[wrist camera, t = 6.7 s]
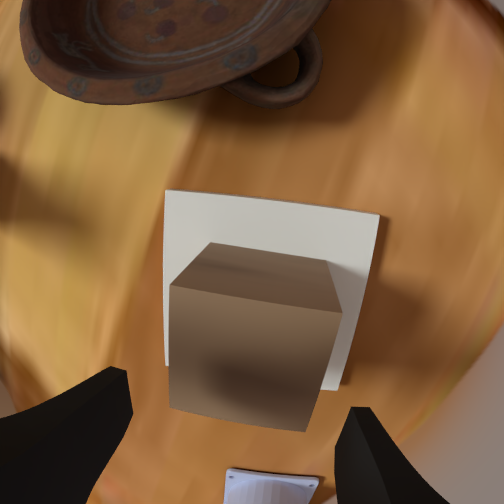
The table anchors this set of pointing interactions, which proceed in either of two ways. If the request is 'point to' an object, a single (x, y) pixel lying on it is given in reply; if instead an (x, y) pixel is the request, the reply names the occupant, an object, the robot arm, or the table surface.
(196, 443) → the table surface
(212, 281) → the walnut cube
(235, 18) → the dish
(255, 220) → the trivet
